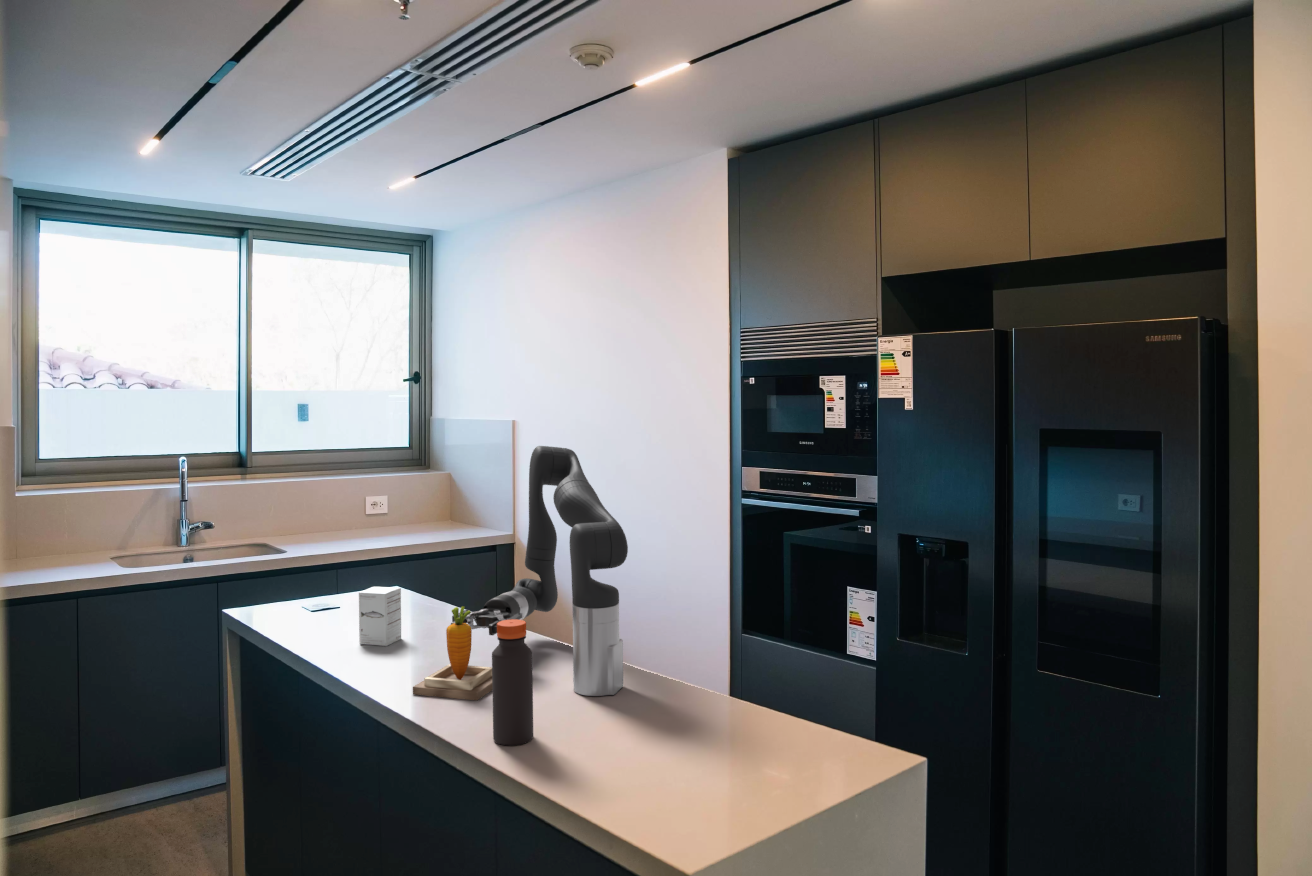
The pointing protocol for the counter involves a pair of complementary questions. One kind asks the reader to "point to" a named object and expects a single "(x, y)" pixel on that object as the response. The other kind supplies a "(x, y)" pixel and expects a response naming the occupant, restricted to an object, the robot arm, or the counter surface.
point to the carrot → (459, 643)
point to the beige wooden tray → (457, 683)
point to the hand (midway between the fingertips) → (471, 629)
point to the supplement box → (380, 616)
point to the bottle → (512, 685)
